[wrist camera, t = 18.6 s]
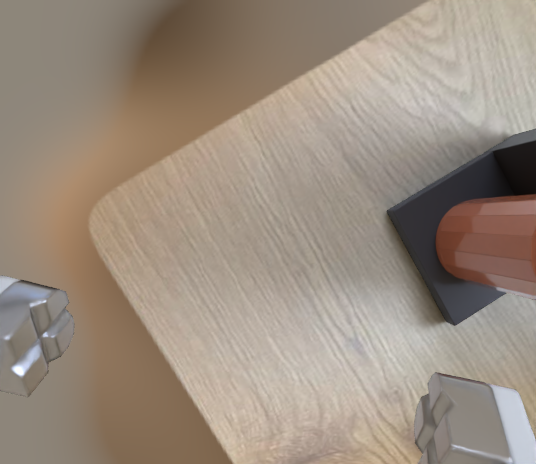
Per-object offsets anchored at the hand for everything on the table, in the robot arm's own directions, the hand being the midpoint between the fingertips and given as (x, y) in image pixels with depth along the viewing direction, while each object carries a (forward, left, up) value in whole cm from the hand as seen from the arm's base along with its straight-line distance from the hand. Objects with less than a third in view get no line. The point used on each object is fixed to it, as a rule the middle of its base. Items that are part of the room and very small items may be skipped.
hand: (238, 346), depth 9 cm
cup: (+5, +18, -20) cm, 27 cm away
